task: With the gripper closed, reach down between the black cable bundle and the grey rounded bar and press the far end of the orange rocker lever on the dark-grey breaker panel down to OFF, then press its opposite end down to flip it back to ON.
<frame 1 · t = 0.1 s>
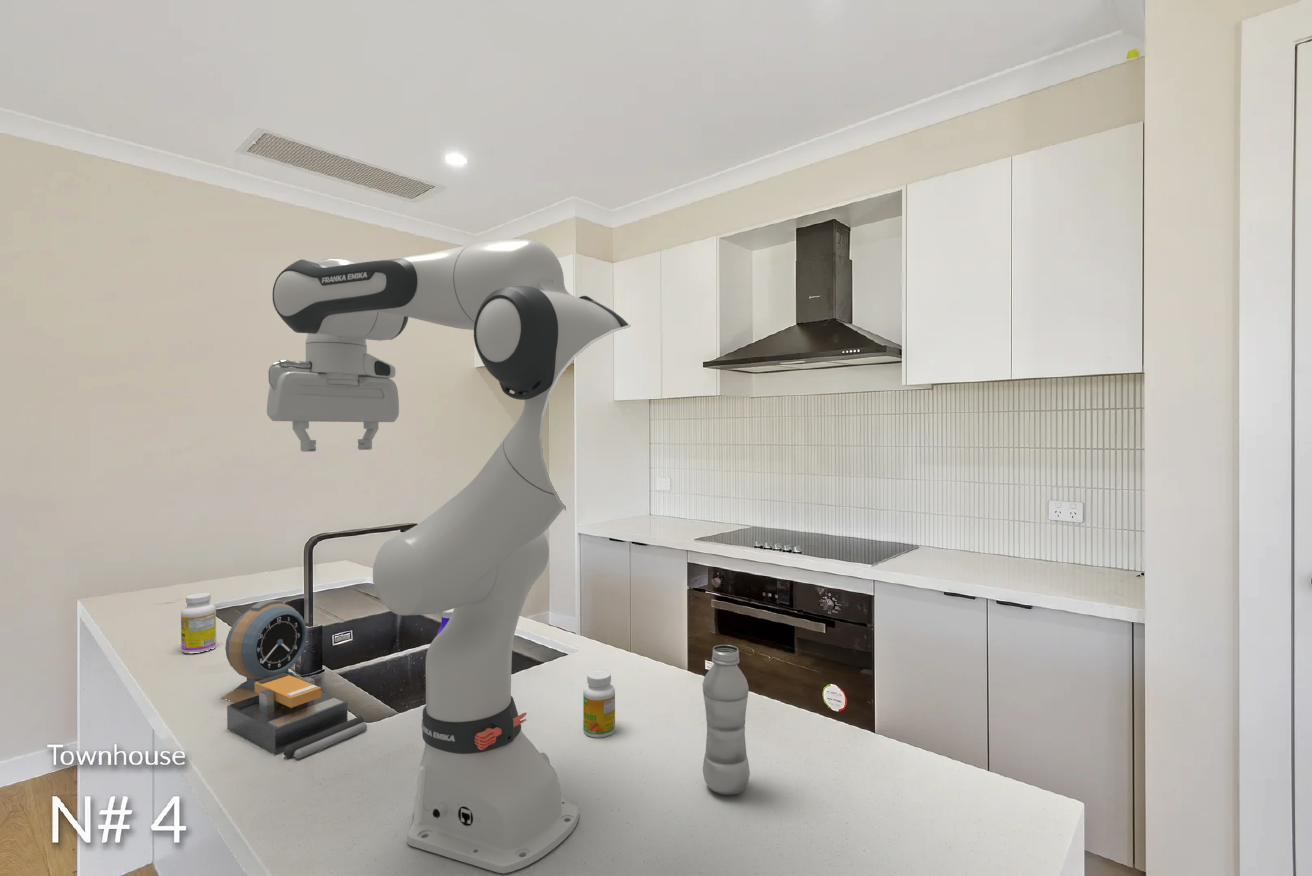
hand: (337, 450, 102), 48 cm above the countertop, fingers open, 8 cm apart
rocker: (287, 689, 110), point 7 cm above the countertop, hinge at 0.0°
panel: (287, 727, 110), on the countertop
bottle: (453, 700, 121), on the countertop
supplement bottle: (599, 732, 108), on the countertop
supplement bottle 2: (199, 651, 149), on the countertop
cord bundle far: (266, 709, 117), on the countertop
plastic bottle: (726, 790, 91), on the countertop
alarm clock: (268, 691, 126), on the countertop
grey rounded bar: (327, 740, 105), on the countertop
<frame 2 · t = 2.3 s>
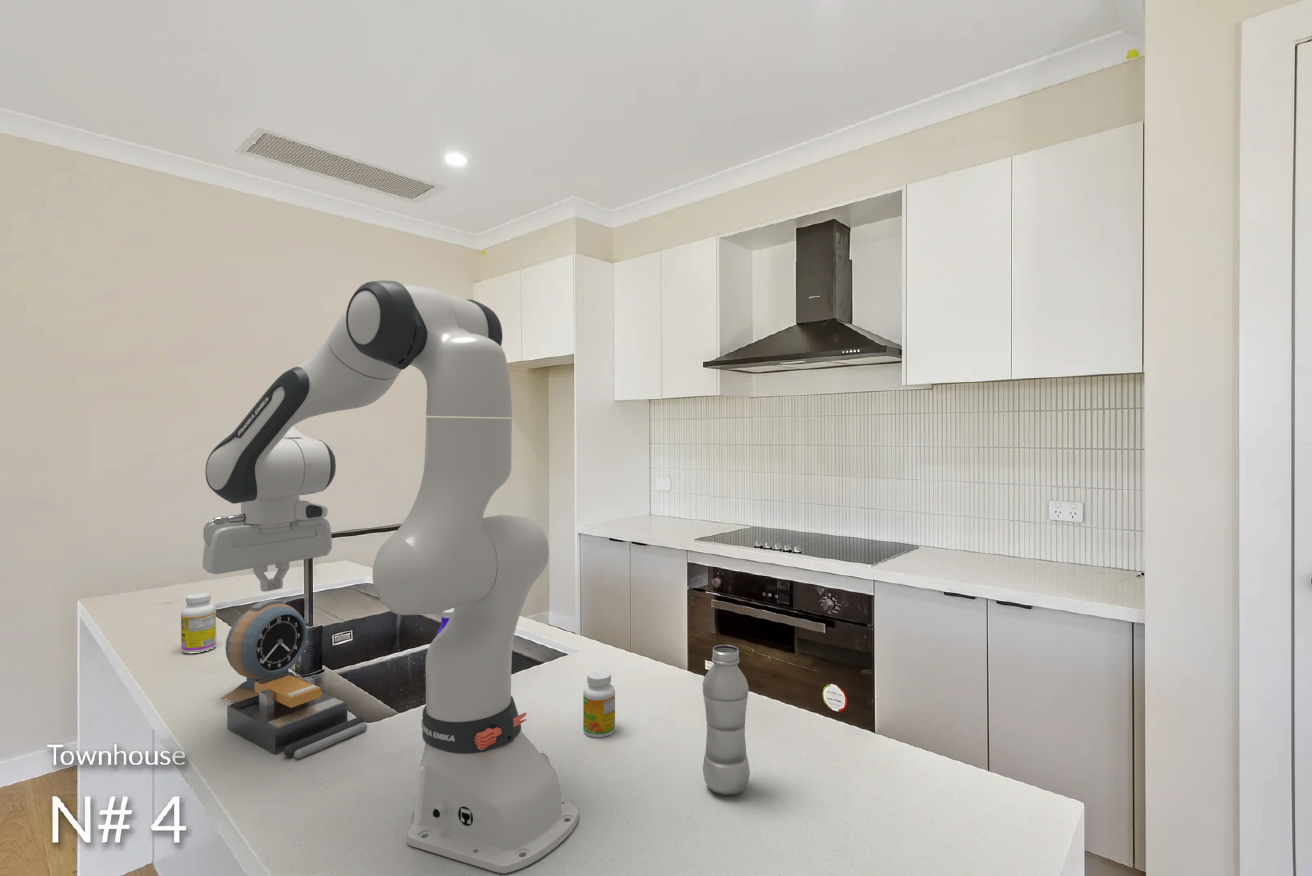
hand: (271, 589, 112), 23 cm above the countertop, fingers closed
nothing on the countertop moved.
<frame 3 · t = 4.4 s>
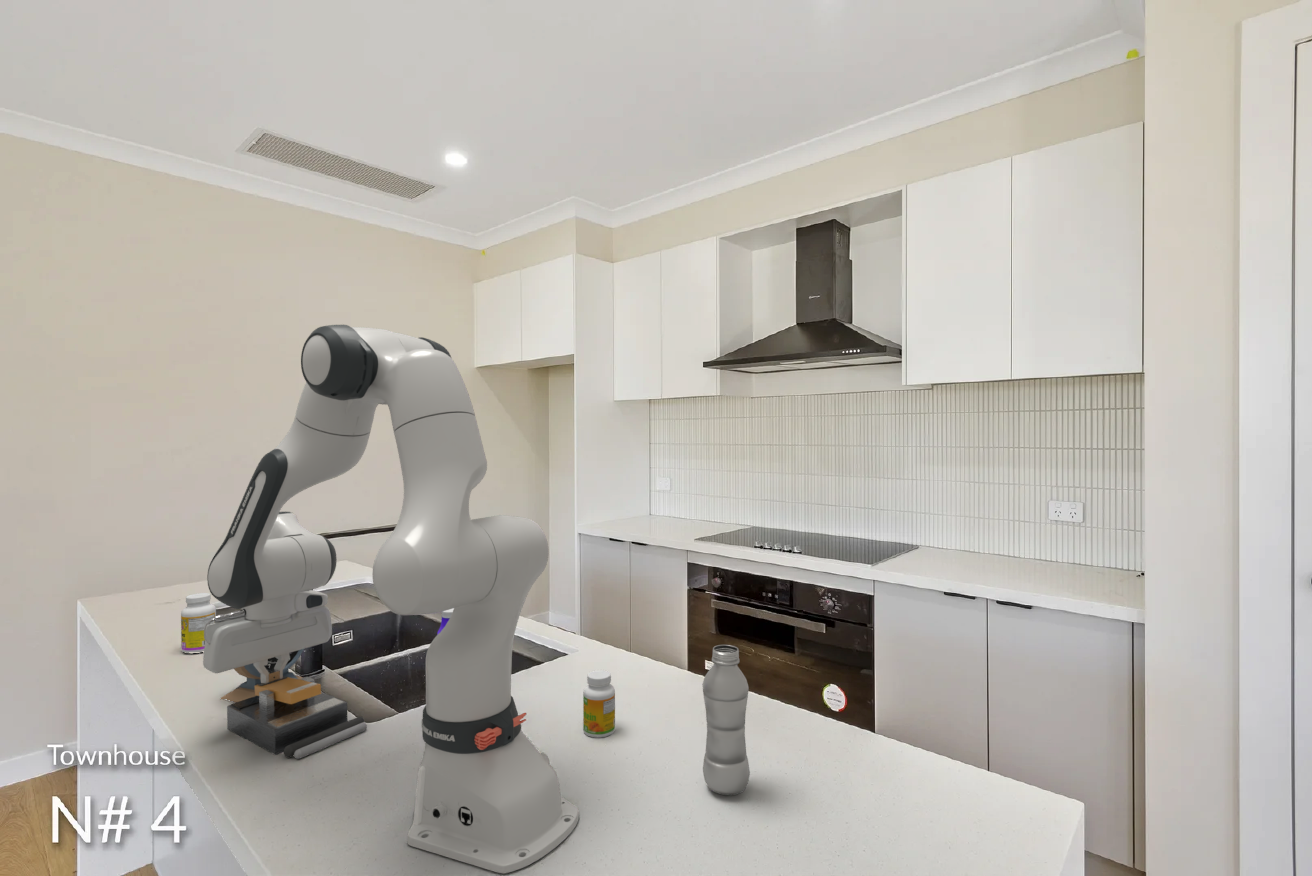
hand: (271, 681, 113), 7 cm above the countertop, fingers closed, pressing on rocker
rocker: (287, 689, 110), point 7 cm above the countertop, hinge at 5.6°, touching gripper
everything else where it was.
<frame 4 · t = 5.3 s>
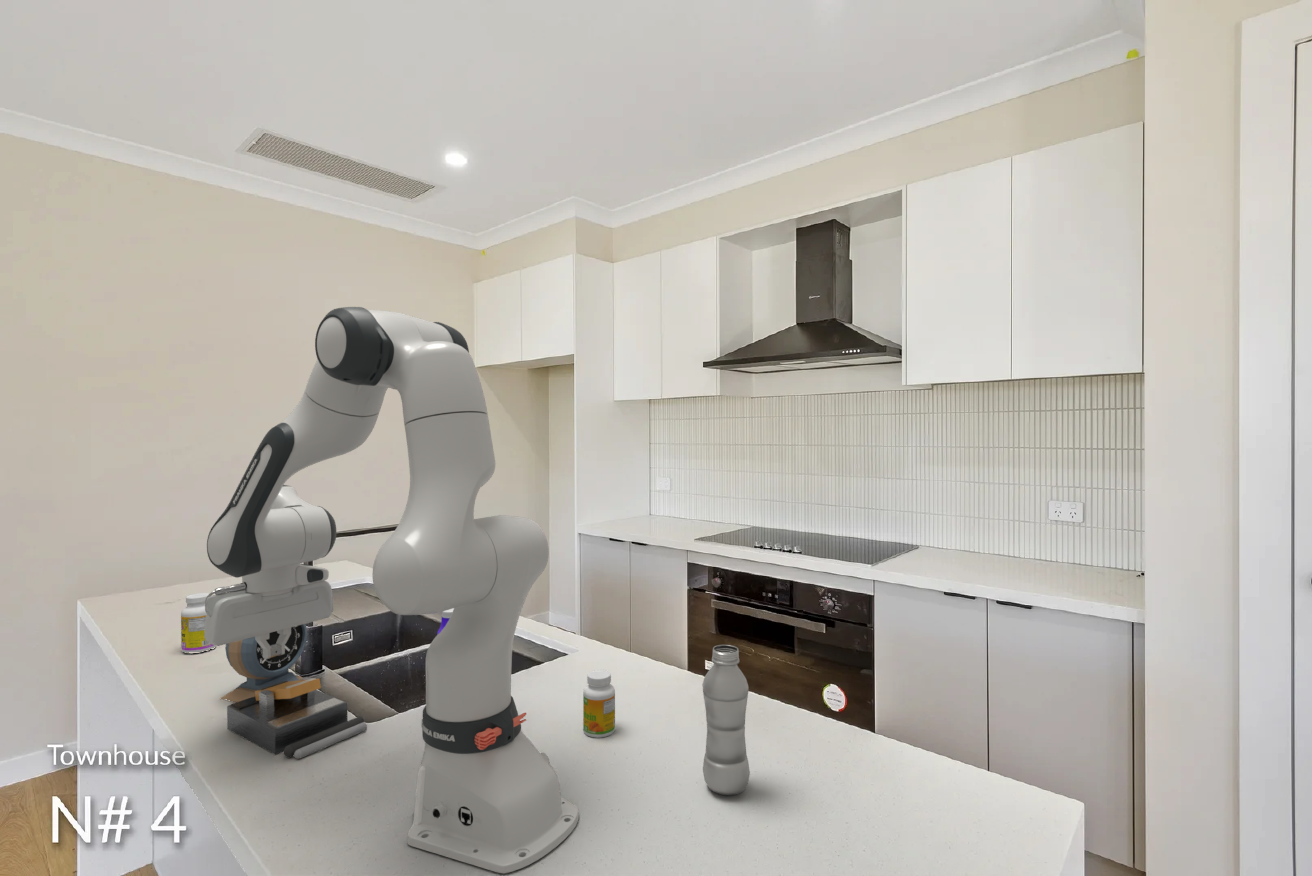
hand: (273, 656, 112), 11 cm above the countertop, fingers closed
rocker: (287, 689, 110), point 7 cm above the countertop, hinge at 14.8°, touching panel
everything else where it was.
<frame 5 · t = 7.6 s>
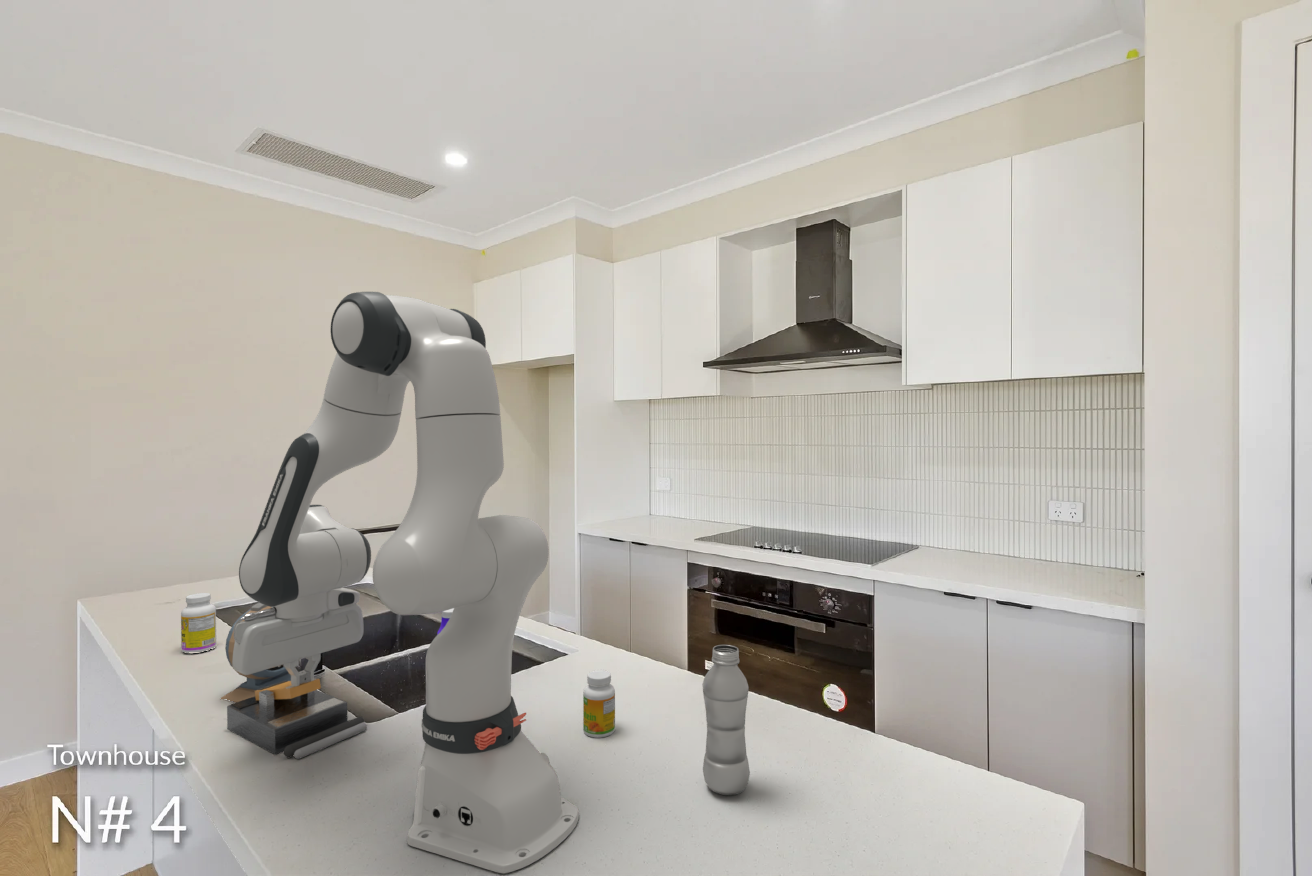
hand: (302, 683, 107), 9 cm above the countertop, fingers closed, pressing on rocker
rocker: (287, 689, 110), point 7 cm above the countertop, hinge at 14.3°, touching gripper
everything else where it was.
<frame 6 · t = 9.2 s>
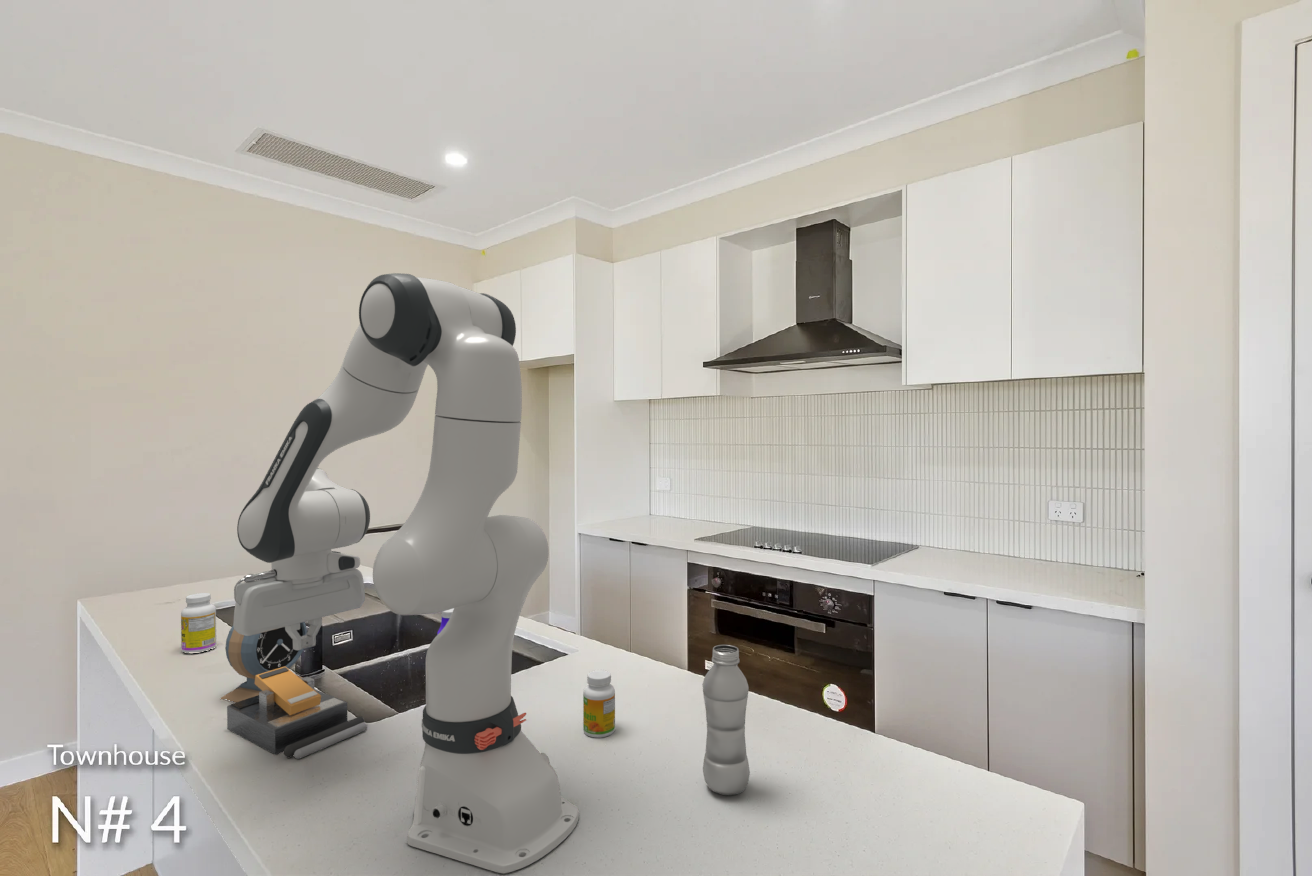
hand: (304, 647, 107), 15 cm above the countertop, fingers closed
rocker: (287, 689, 110), point 7 cm above the countertop, hinge at -13.0°
everything else where it was.
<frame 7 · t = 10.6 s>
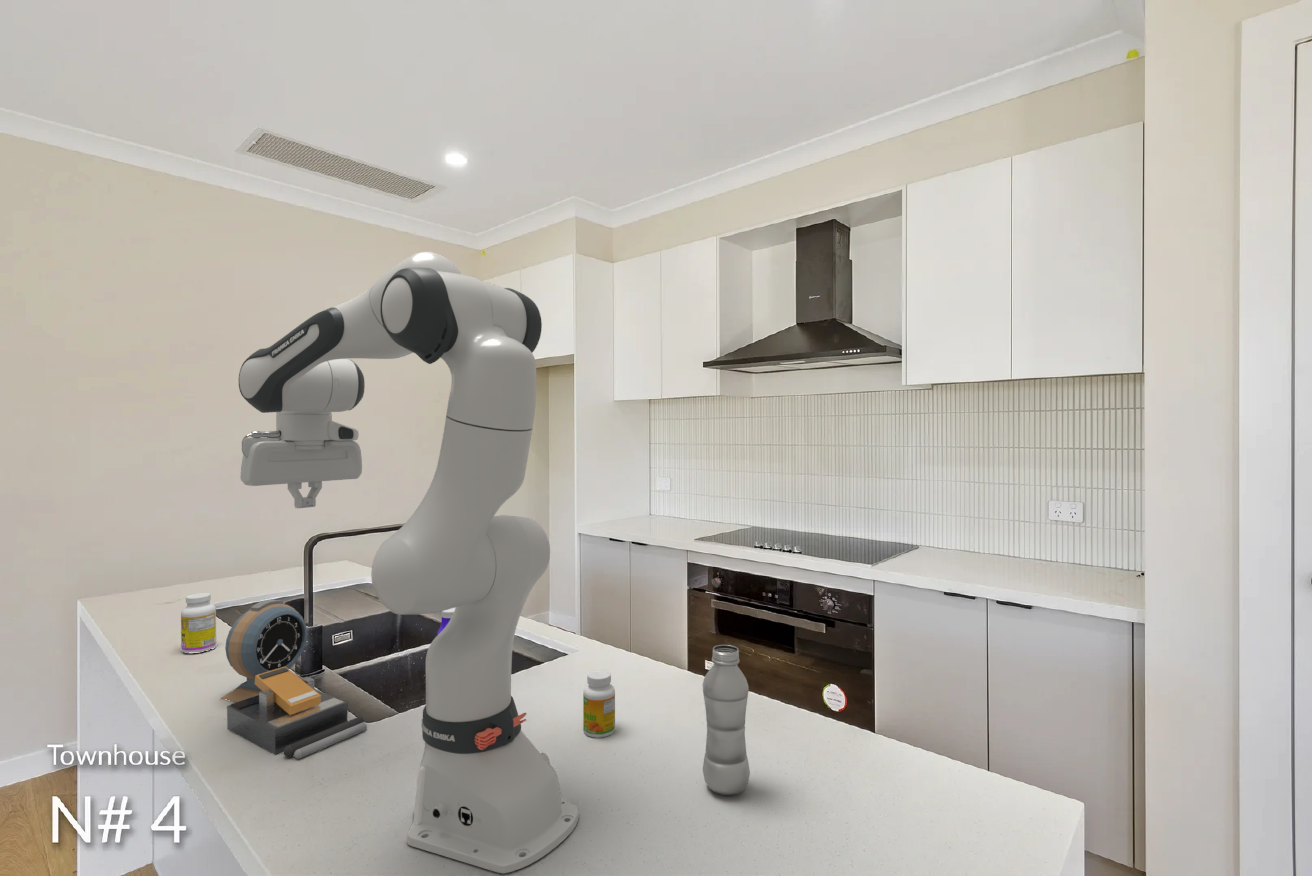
hand: (305, 507, 115), 37 cm above the countertop, fingers closed
nothing on the countertop moved.
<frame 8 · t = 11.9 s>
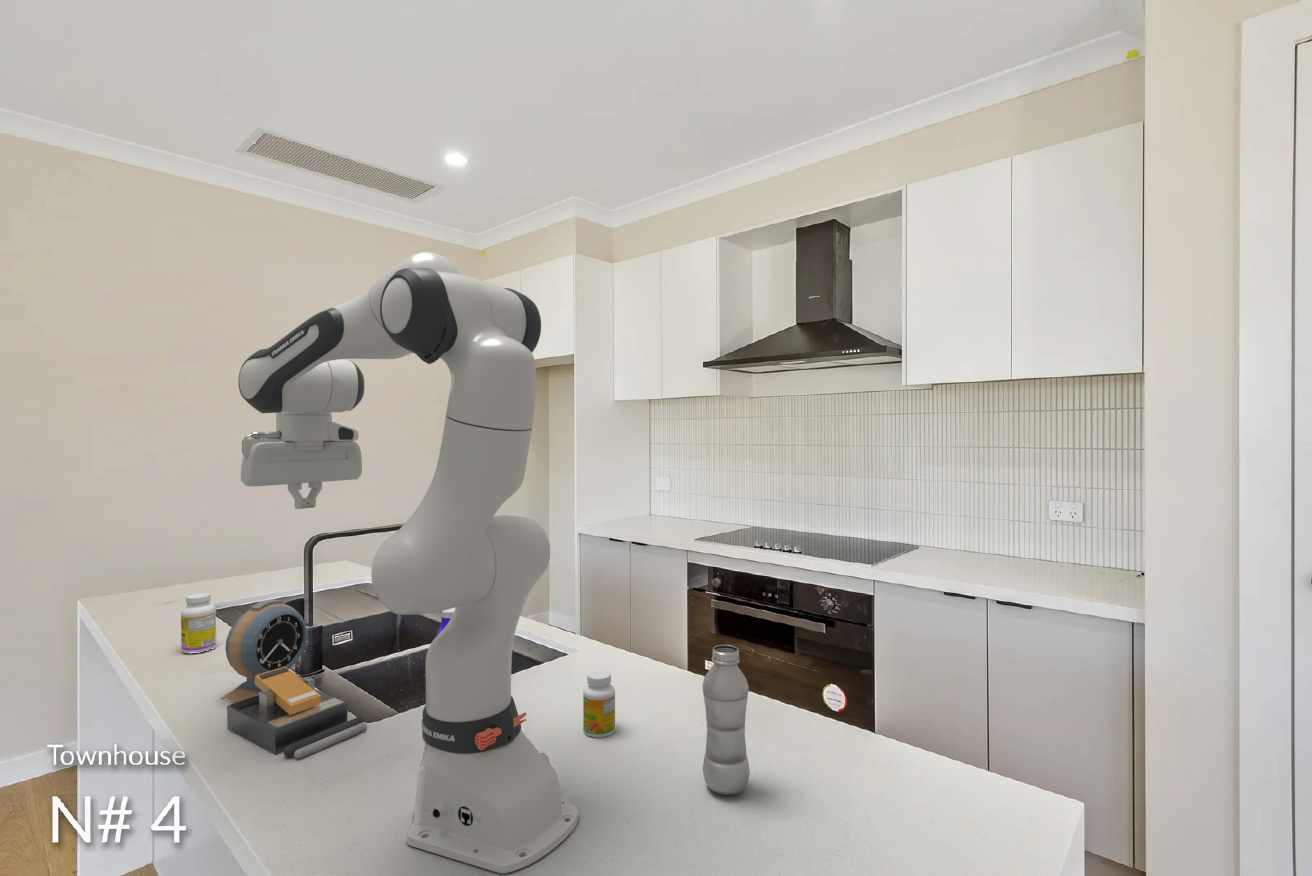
hand: (305, 508, 115), 37 cm above the countertop, fingers closed
nothing on the countertop moved.
at the end: rocker at -13° (first picture: +0°); rocker tilted 13° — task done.
